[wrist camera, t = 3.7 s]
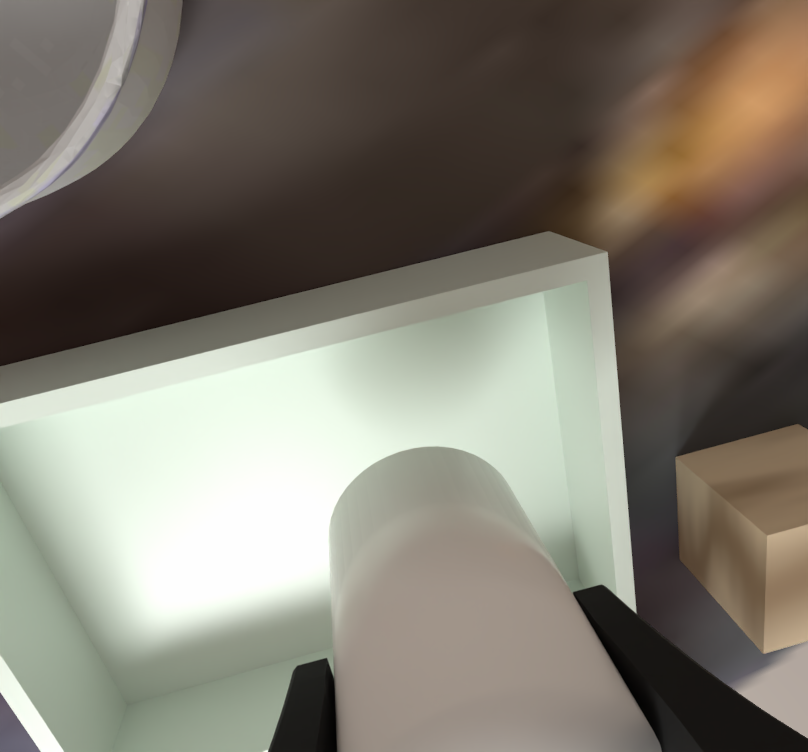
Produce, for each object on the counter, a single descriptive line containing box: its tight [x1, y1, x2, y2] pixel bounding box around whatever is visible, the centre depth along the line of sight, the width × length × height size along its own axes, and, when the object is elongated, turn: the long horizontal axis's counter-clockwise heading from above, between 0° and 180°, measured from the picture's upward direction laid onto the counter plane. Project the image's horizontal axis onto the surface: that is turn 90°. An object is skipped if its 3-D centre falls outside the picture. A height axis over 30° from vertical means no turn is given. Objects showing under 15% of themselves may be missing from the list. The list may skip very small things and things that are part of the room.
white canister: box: [328, 446, 662, 752], centre depth 12 cm, size 5×5×7 cm
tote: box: [0, 231, 637, 752], centre depth 19 cm, size 14×19×4 cm
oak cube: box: [675, 424, 808, 654], centre depth 21 cm, size 5×5×5 cm
